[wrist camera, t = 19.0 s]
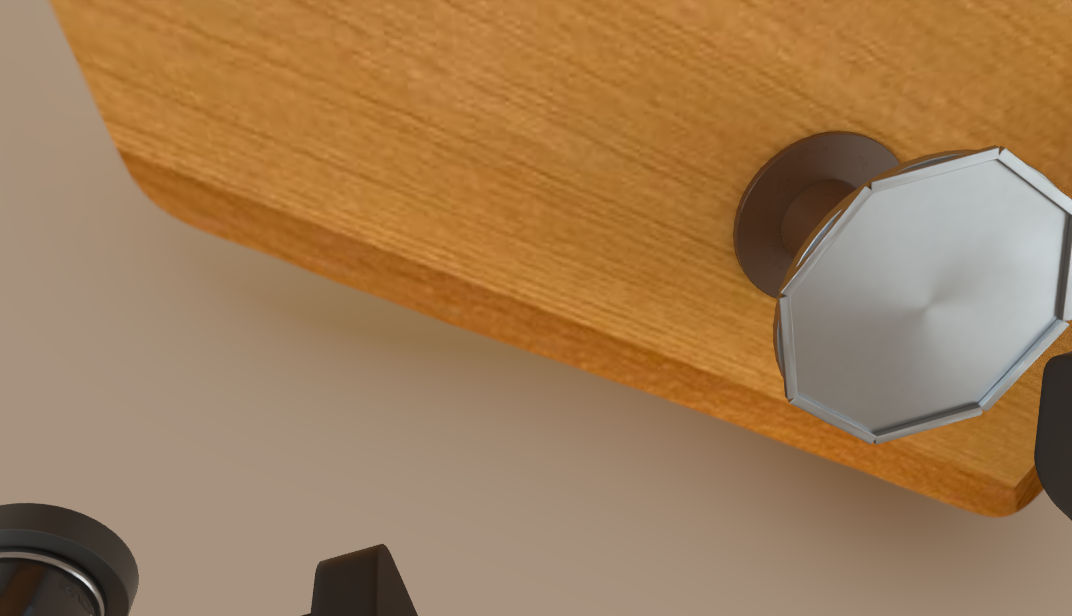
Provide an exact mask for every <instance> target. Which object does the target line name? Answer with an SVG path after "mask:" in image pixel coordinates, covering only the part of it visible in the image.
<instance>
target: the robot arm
mask: <svg viewBox="0 0 1072 616" xmlns="http://www.w3.org/2000/svg"><path fill="white" fill-rule="evenodd" d="M1034 459H1035V466H1036V471H1037V474H1038V477H1039V479H1040V481H1041V484H1042V486H1043V487H1044V489H1045V491H1046V493H1047V494H1048V496H1049V497H1050V498H1051V500H1052V501H1053V502H1054V504H1055V505H1056V506H1057V507H1058V508H1059V509H1060V510H1061V511H1062V512H1063V513H1064V514H1065V515H1067V516H1068V517H1069V518H1070V519H1071V520H1072V351H1071V352H1068V353H1064V354H1061V355H1057V356H1054V357H1052V358H1051V359H1050V360H1049V361H1048V362H1047V363H1046V366H1045V368H1044V372H1043V379H1042V388H1041V398H1040V407H1039V416H1038V425H1037V434H1036V443H1035V453H1034ZM106 612H107V601H106V596H105V593H104V591H103V588H102V587H101V585H100V583H99V582H98V581H97V579H96V578H95V577H94V576H93V575H92V574H91V573H90V572H89V571H88V570H87V569H85V568H84V567H83V566H81V565H80V564H78V563H77V562H75V561H73V560H71V559H69V558H67V557H65V556H62V555H60V554H57V553H54V552H51V551H47V550H43V549H38V548H32V547H21V546H7V547H0V616H106ZM303 616H418V615H417V613H416V610H415V608H414V606H413V604H412V601H411V599H410V597H409V594H408V592H407V590H406V587H405V585H404V583H403V581H402V579H401V576H400V574H399V572H398V569H397V567H396V565H395V562H394V560H393V558H392V556H391V554H390V552H389V550H388V548H387V547H386V546H385V545H384V544H380V545H376V546H373V547H369V548H366V549H363V550H359V551H355V552H352V553H348V554H344V555H341V556H337V557H334V558H330V559H327V560H324V561H321V562H319V564H318V566H317V569H316V573H315V581H314V589H313V598H312V607H311V613H310V614H306V615H303Z"/></svg>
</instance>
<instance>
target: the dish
mask: <svg viewBox="0 0 1072 616" xmlns="http://www.w3.org/2000/svg"><path fill="white" fill-rule="evenodd" d="M733 237H734V248H735V253H736V256H737V259H738V262H739V264H740V266H741V268H742V270H743V272H744V273H745V274H746V276H747V277H748V278H749V280H750V281H751V282H752V283H753V284H754V285H755V286H756V287H757V288H759V289H760V290H761V291H763V292H764V293H766V294H767V295H770V296H772V297H774V298H776V299H777V304H776V308H775V315H774V323H773V344H774V350H775V356H776V361H777V364H778V367H779V369H780V372H781V375H782V377H783V379H784V388H785V396H786V398H787V399H788V401H789V402H790V403H791V404H793V405H795V406H796V407H798V408H800V409H802V410H804V411H806V412H808V413H810V414H812V415H814V416H816V417H818V418H820V419H821V420H823V421H824V422H826V423H829V424H831V425H833V426H836V427H838V428H840V429H842V430H844V431H846V432H847V433H849V434H851V435H853V436H855V437H857V438H859V439H861V440H863V441H865V442H867V443H869V444H872V443H873V442H874V443H875V444H880V443H883V442H887V441H890V440H894V439H897V438H901V437H904V436H908V435H911V434H915V433H919V432H922V431H926V430H929V429H933V428H936V427H940V426H943V425H947V424H950V423H954V422H957V421H961V420H964V419H968V418H971V417H975V416H978V415H982V409H983V410H985V411H988V410H989V409H990V408H991V407H992V406H993V405H994V404H995V402H996V401H997V400H998V399H999V398H1000V397H1001V396H1002V395H1003V394H1004V393H1005V392H1006V391H1007V390H1008V389H1009V388H1010V387H1011V386H1012V385H1013V384H1014V383H1015V381H1016V380H1017V379H1018V378H1019V377H1020V376H1021V375H1022V374H1023V373H1024V372H1025V371H1026V370H1027V369H1028V368H1029V367H1030V366H1031V365H1032V364H1033V363H1034V362H1035V360H1036V359H1037V358H1038V357H1039V356H1040V355H1041V354H1042V353H1043V352H1044V351H1045V350H1046V349H1047V348H1048V347H1049V346H1050V345H1051V344H1052V343H1053V342H1054V340H1055V339H1056V338H1057V337H1058V336H1059V335H1060V334H1061V333H1062V332H1063V331H1064V330H1065V329H1066V328H1067V327H1068V326H1069V324H1068V323H1067V322H1065V321H1069V320H1072V199H1071V198H1069V197H1068V196H1067V195H1065V194H1064V193H1063V192H1062V191H1060V190H1059V189H1058V188H1056V186H1055V185H1054V184H1053V183H1052V182H1051V181H1050V180H1049V179H1048V178H1047V177H1046V176H1045V175H1044V174H1042V173H1041V172H1039V171H1038V170H1036V169H1035V168H1033V167H1031V166H1030V165H1028V164H1026V163H1024V162H1023V161H1022V160H1020V159H1019V158H1018V157H1016V156H1015V155H1014V154H1013V153H1011V152H1010V151H1009V150H1007V149H1006V148H1004V147H1002V146H1000V147H998V146H995V145H994V146H990V147H987V148H983V149H979V150H954V151H944V152H940V153H935V154H930V155H925V156H922V157H919V158H916V159H913V160H910V161H907V162H904V163H902V164H899V162H898V160H897V159H896V158H895V156H894V155H893V154H892V153H891V152H890V151H889V150H888V149H887V148H885V147H884V146H883V145H881V144H880V143H878V142H876V141H875V140H873V139H871V138H869V137H866V136H863V135H861V134H856V133H852V132H841V131H837V132H826V133H821V134H816V135H813V136H810V137H807V138H804V139H801V140H799V141H797V142H795V143H793V144H791V145H790V146H788V147H786V148H785V149H783V150H781V151H780V152H779V153H778V154H776V155H775V156H774V157H772V158H771V159H770V160H769V161H768V162H767V163H766V164H765V165H764V166H763V167H762V168H761V169H760V170H759V172H758V173H757V174H756V175H755V176H754V178H753V179H752V181H751V182H750V184H749V185H748V187H747V188H746V190H745V192H744V194H743V196H742V198H741V201H740V204H739V206H738V209H737V213H736V217H735V221H734V231H733Z"/></svg>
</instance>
